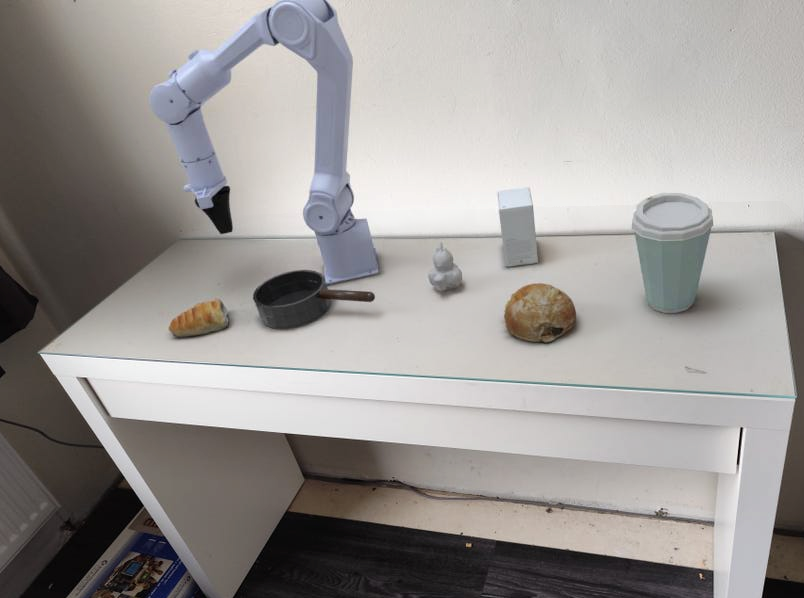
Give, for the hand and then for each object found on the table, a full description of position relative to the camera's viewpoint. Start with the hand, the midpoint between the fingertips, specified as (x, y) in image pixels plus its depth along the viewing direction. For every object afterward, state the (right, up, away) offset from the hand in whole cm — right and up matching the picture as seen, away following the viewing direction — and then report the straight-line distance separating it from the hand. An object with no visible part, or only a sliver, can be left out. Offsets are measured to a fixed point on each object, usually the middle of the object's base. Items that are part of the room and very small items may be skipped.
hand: (226, 231), depth 118 cm
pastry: (-1, -17, -7) cm, 19 cm away
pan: (+14, -14, -7) cm, 21 cm away
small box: (+52, -5, -3) cm, 52 cm away
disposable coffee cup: (+72, -15, -21) cm, 76 cm away
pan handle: (+23, -13, -12) cm, 29 cm away
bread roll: (+53, -18, -21) cm, 59 cm away
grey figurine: (+39, -11, -8) cm, 42 cm away
